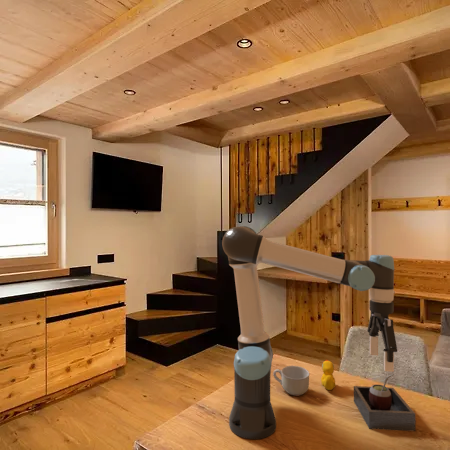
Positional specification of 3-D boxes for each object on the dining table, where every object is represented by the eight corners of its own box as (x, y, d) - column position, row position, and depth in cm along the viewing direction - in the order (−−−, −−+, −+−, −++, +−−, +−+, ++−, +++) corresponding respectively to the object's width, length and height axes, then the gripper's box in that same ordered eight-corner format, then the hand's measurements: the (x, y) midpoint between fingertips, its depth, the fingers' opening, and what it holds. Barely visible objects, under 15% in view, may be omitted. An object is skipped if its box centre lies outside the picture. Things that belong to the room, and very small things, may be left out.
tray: (369, 428, 107) (369, 411, 107) (353, 401, 124) (353, 386, 124) (415, 431, 105) (415, 413, 106) (393, 402, 122) (393, 387, 122)
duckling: (320, 380, 141) (320, 356, 141) (333, 381, 139) (333, 357, 139) (322, 393, 130) (321, 367, 130) (336, 394, 128) (336, 368, 128)
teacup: (313, 389, 132) (313, 369, 132) (303, 401, 123) (303, 380, 123) (280, 381, 140) (280, 361, 140) (269, 392, 131) (269, 371, 131)
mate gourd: (370, 403, 120) (369, 361, 120) (394, 409, 116) (394, 366, 116) (367, 414, 113) (367, 369, 113) (394, 420, 109) (393, 374, 109)
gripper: (409, 309, 102) (409, 379, 102) (379, 293, 127) (378, 349, 127) (384, 309, 103) (383, 378, 103) (358, 292, 127) (358, 348, 127)
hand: (380, 362), depth 115 cm, fingers open, 13 cm apart
